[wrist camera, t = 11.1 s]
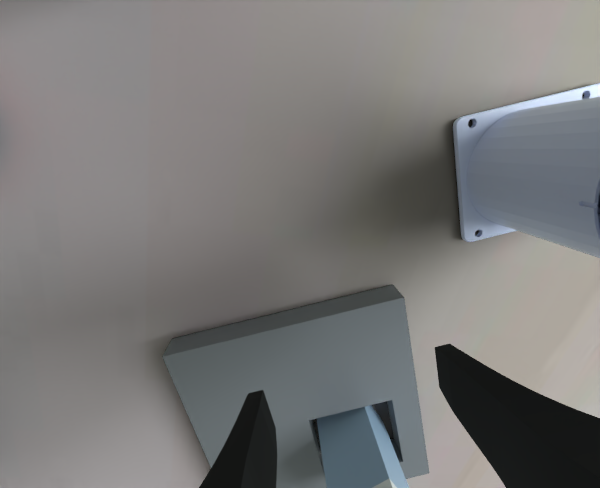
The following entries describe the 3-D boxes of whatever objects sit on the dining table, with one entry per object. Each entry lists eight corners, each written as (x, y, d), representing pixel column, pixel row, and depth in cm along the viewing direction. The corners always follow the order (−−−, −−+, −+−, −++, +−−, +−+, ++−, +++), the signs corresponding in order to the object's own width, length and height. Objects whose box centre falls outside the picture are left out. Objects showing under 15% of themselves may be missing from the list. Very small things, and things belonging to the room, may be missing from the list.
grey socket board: (392, 284, 22) (404, 297, 20) (418, 449, 27) (429, 473, 25) (172, 338, 22) (162, 356, 20) (237, 494, 27) (234, 521, 25)
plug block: (358, 388, 24) (395, 497, 17) (382, 420, 25) (428, 535, 18) (315, 413, 25) (333, 530, 17) (341, 443, 26) (368, 566, 18)
